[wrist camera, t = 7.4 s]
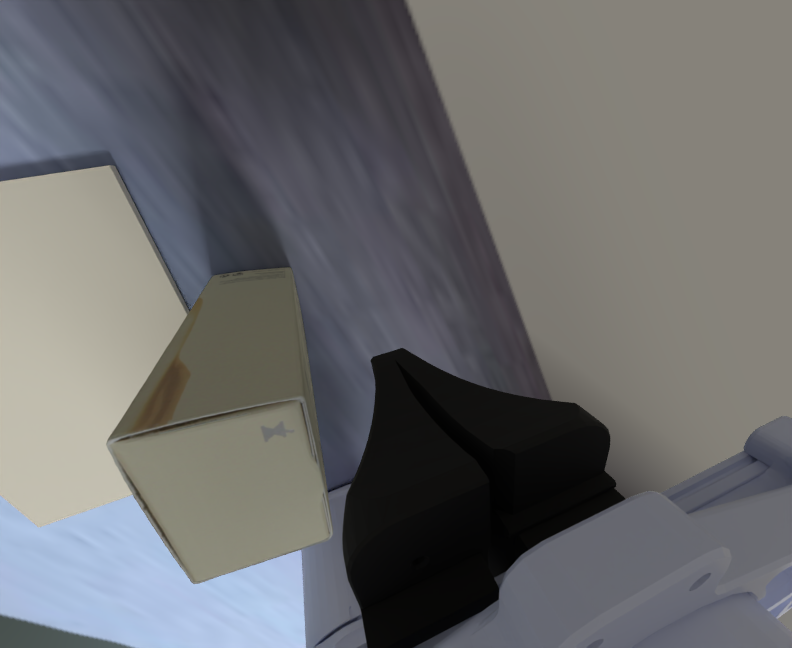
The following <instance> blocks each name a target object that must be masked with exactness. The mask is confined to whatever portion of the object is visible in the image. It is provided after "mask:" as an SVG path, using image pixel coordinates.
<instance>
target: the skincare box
mask: <svg viewBox="0 0 792 648" xmlns="http://www.w3.org/2000/svg"><path fill="white" fill-rule="evenodd" d="M106 445H107V448H108V450H109V452H110V454H111V455H112V457H113V460H114V462H115V465H116V466H117V467H118V469H119V471H120V473H121V475H122V477H123V479H124V481H125V482H126V484H127V485H128V487H129V489H130V491H131V492H132V494H133V496H134V498H135V499H136V501H137V502H138V504H139V506H140V507H141V509H142V510H143V512H144V513H145V515H146V516H147V518H148V520H149V521H150V523H151V524H152V526H153V527H154V529H155V530H156V532H157V533H158V535H159V536H160V538H161V539H162V541H163V542H164V544H165V546H166V547H167V548H168V550H169V551H170V553H171V554H172V556H173V557H174V558H175V560H176V561H177V562H178V564H179V566H180V567H181V568H182V569H183V571H184V572H185V573H186V575H187V576H188V578H189V579H190V581H191V582H192V583H193V584H198V583H201V582H205V581H207V580H210V579H213V578H215V577H218V576H221V575H224V574H228V573H231V572H234V571H237V570H240V569H243V568H246V567H249V566H251V565H255V564H259V563H261V562H264V561H267V560H270V559H273V558H276V557H279V556H282V555H286V554H289V553H291V552H295V551H298V550H301V549H304V548H307V547H310V546H313V545H316V544H319V543H322V542H326V541H328V540H329V539H330V538H331V537H332V535H333V527H332V519H331V512H330V505H329V498H328V491H327V484H326V478H325V471H324V464H323V457H322V450H321V443H320V436H319V429H318V422H317V415H316V408H315V401H314V394H313V387H312V380H311V373H310V366H309V359H308V351H307V345H306V338H305V332H304V326H303V320H302V315H301V309H300V304H299V299H298V294H297V290H296V285H295V281H294V276H293V272H292V269H291V268H290V267H286V268H273V269H262V270H250V271H241V272H233V273H226V274H219V275H214V276H212V278H211V279H210V281H209V282H208V284H207V285H206V287H205V288H204V290H203V291H202V293H201V294H200V296H199V298H198V299H197V301H196V303H195V304H194V306H193V307H192V309H191V310H190V312H189V314H188V315H187V316H186V318H185V320H184V321H183V323H182V324H181V326H180V327H179V329H178V331H177V332H176V334H175V335H174V337H173V339H172V340H171V342H170V343H169V345H168V346H167V348H166V349H165V351H164V353H163V354H162V356H161V357H160V359H159V361H158V362H157V364H156V365H155V367H154V369H153V370H152V372H151V373H150V375H149V376H148V378H147V380H146V381H145V383H144V384H143V386H142V387H141V389H140V390H139V392H138V394H137V395H136V397H135V398H134V400H133V401H132V403H131V405H130V406H129V408H128V409H127V411H126V413H125V414H124V416H123V417H122V419H121V420H120V422H119V423H118V425H117V426H116V428H115V429H114V431H113V432H112V434H111V435H110V437H109V438H108V440H107V443H106Z"/></svg>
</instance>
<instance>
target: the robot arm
mask: <svg viewBox="0 0 792 648" xmlns="http://www.w3.org/2000/svg"><path fill="white" fill-rule="evenodd" d="M371 364H372V368H373V373H374V377H375V386H376V392H375V405H374V413H373V419H372V425H371V429H370V433H369V437H368V441H367V444H366V448H365V451H364V454H363V456H362V459H361V462H360V465H359V468H358V470H357V473H356V475H355V477H354V479H353V481H352V483H351V484H349V485H346V486H344V487H341V488H339V489H336V490H334V491H331V492H328V498H329V505H330V512H331V519H332V527H333V535H332V537H331V538H330V539H329V540H328V541H326V542H322V543H319V544H316V545H313V546H310V547H307V548H304V549H301V550H302V571H303V593H304V614H305V636H306V648H792V632H791V631H790V630H789V629H788V628H787V627H785V625H783V624H782V623H781V622H780V621H779V620H778V618H779V617H780V616H782V615H783V614H784V613H786V612H787V611H788V610H789V609H791V608H792V418H790V417H788V416H781V417H779V418H777V419H775V420H773V421H771V422H769V423H767V424H765V425H763V426H761V427H759V428H758V429H756V430H755V431H754V432H753V433H752V434H751V435H750V436H749V438H748V439H747V441H746V443H745V446H744V451H742V452H740V453H738V454H736V455H734V456H732V457H730V458H728V459H727V460H725V461H722V462H721V463H718V464H717V465H715V466H713V467H711V468H709V469H707V470H705V471H703V472H701V473H699V474H697V475H695V476H693V477H691V478H689V479H687V480H685V481H683V482H681V483H679V484H677V485H675V486H673V487H671V488H669V489H667V490H665V491H663V492H661V493H658V492H652V491H647V492H644V493H641V494H638V495H635V496H632V497H630V498H628V499H625V498H624V497H623V496H622V495H621V494H620V493H619V492H617V490H615V489H614V487H616V482H615V480H614V479H613V478H612V477H611V476H609V475H608V474H607V473H606V472H605V471H604V469H605V465H606V461H607V457H608V452H609V448H610V434H609V431H608V429H607V428H606V427H605V426H604V424H602V423H601V422H600V421H599V420H597V419H596V418H595V417H593V416H592V415H591V414H589V413H588V412H587V411H585V410H584V409H583V408H581V407H580V406H579V405H577V404H575V403H569V402H559V401H550V400H541V399H535V398H529V397H523V396H518V395H513V394H509V393H504V392H501V391H497V390H493V389H489V388H486V387H483V386H480V385H477V384H474V383H471V382H468V381H465V380H463V379H460V378H458V377H456V376H454V375H451V374H449V373H447V372H445V371H443V370H441V369H439V368H437V367H435V366H433V365H431V364H429V363H427V362H426V361H424V360H422V359H421V358H419V357H417V356H415V355H414V354H412V353H410V352H409V351H407V350H405V349H404V348H401V349H397V350H394V351H391V352H388V353H385V354H381V355H378V356H375V357H373V358H372V359H371Z"/></svg>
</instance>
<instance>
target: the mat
mask: <svg viewBox="0 0 792 648" xmlns="http://www.w3.org/2000/svg"><path fill="white" fill-rule="evenodd" d="M189 312H190V311H189V309H188V307H187V305H186V304H185V302H184V300H183V298H182V296H181V294H180V292H179V290H178V288H177V286H176V284H175V282H174V280H173V278H172V276H171V274H170V272H169V270H168V268H167V267H166V265H165V263H164V261H163V259H162V257H161V255H160V253H159V251H158V249H157V247H156V245H155V243H154V241H153V239H152V237H151V235H150V233H149V231H148V229H147V228H146V226H145V224H144V222H143V220H142V218H141V216H140V214H139V212H138V210H137V208H136V206H135V204H134V202H133V200H132V198H131V196H130V194H129V192H128V191H127V189H126V187H125V185H124V183H123V181H122V179H121V177H120V175H119V173H118V171H117V169H116V167H115V166H112V165H108V166H101V167H95V168H88V169H81V170H74V171H68V172H61V173H54V174H48V175H41V176H34V177H27V178H21V179H14V180H7V181H1V182H0V495H1V496H2V497H3V498H4V499H5V500H7V501H8V502H9V503H10V504H11V505H13V506H14V507H15V508H16V509H17V510H19V511H20V512H21V513H22V514H23V515H24V516H26V517H27V518H28V519H29V520H30V521H32V522H33V523H34V524H35V525H36V526H37V527H42V526H44V525H47V524H50V523H53V522H56V521H59V520H62V519H65V518H67V517H70V516H73V515H76V514H79V513H82V512H85V511H87V510H90V509H93V508H96V507H99V506H102V505H105V504H107V503H110V502H113V501H116V500H119V499H122V498H125V497H128V496H130V495H133V494H132V492H131V491H130V489H129V487H128V485H127V484H126V482H125V481H124V479H123V477H122V475H121V473H120V471H119V469H118V467H117V466H116V465H115V462H114V460H113V457H112V455H111V454H110V452H109V450H108V448H107V445H106V443H107V440H108V438H109V437H110V435H111V434H112V432H113V431H114V429H115V428H116V426H117V425H118V423H119V422H120V420H121V419H122V417H123V416H124V414H125V413H126V411H127V409H128V408H129V406H130V405H131V403H132V401H133V400H134V398H135V397H136V395H137V394H138V392H139V390H140V389H141V387H142V386H143V384H144V383H145V381H146V380H147V378H148V376H149V375H150V373H151V372H152V370H153V369H154V367H155V365H156V364H157V362H158V361H159V359H160V357H161V356H162V354H163V353H164V351H165V349H166V348H167V346H168V345H169V343H170V342H171V340H172V339H173V337H174V335H175V334H176V332H177V331H178V329H179V327H180V326H181V324H182V323H183V321H184V320H185V318H186V316H187V315H188V314H189Z"/></svg>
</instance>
